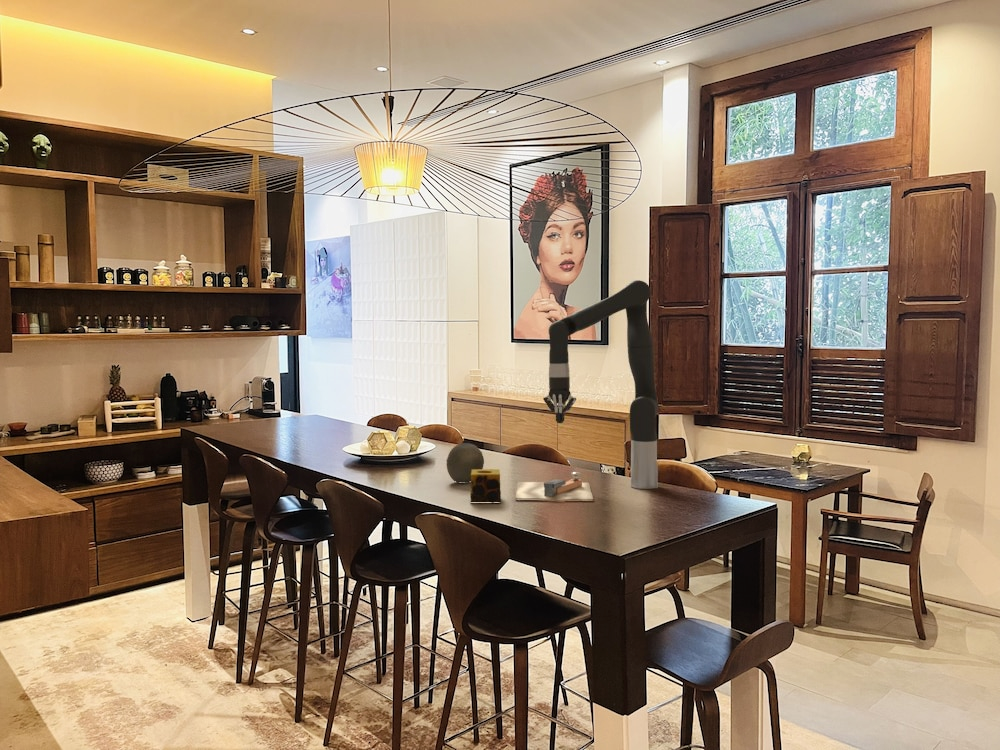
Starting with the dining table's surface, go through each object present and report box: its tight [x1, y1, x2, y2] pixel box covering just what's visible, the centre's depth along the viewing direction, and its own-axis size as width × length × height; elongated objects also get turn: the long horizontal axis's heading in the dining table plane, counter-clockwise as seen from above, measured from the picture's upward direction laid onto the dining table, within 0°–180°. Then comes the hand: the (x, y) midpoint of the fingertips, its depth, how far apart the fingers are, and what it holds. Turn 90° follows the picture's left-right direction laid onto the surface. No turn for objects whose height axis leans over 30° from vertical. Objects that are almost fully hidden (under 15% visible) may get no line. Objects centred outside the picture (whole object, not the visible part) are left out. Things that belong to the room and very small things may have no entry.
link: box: [556, 478, 583, 494], centre depth 270 cm, size 18×4×2 cm, turn 146°
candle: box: [469, 468, 502, 502], centre depth 257 cm, size 10×10×10 cm
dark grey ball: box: [446, 442, 485, 483], centre depth 287 cm, size 14×14×15 cm
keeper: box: [543, 478, 567, 497], centre depth 262 cm, size 8×4×4 cm, turn 147°
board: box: [515, 481, 594, 502], centre depth 270 cm, size 26×28×1 cm
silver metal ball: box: [570, 471, 582, 480], centre depth 275 cm, size 3×3×3 cm
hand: (560, 422), depth 280 cm, fingers closed
